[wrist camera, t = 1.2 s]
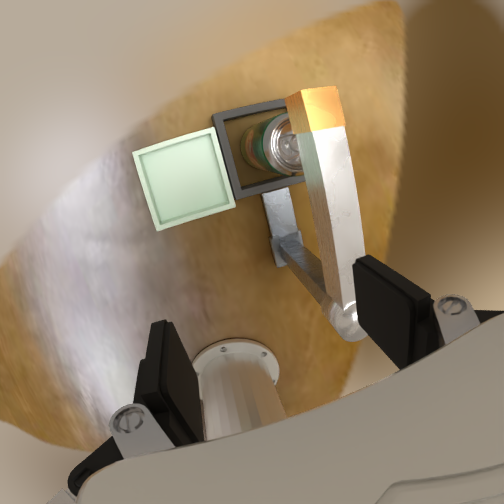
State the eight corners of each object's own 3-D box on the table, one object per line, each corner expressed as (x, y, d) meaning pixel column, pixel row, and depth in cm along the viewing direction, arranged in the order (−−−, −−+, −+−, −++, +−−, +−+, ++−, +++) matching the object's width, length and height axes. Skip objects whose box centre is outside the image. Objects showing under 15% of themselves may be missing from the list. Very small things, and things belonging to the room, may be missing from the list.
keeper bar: (358, 311, 24) (379, 331, 21) (323, 325, 23) (340, 347, 20) (322, 93, 18) (344, 84, 15) (276, 100, 18) (293, 91, 14)
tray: (232, 203, 34) (235, 207, 31) (159, 225, 33) (156, 231, 31) (212, 128, 31) (214, 126, 28) (136, 152, 30) (132, 152, 28)
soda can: (232, 133, 31) (254, 122, 20) (275, 117, 32) (317, 102, 20) (249, 176, 33) (279, 188, 22) (291, 159, 33) (339, 164, 22)
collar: (309, 176, 34) (317, 177, 32) (232, 196, 33) (236, 200, 31) (291, 99, 31) (298, 96, 29) (211, 117, 30) (213, 114, 28)
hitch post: (303, 255, 37) (359, 311, 24) (275, 264, 37) (320, 326, 24) (288, 185, 34) (347, 208, 21) (257, 193, 34) (301, 221, 21)
